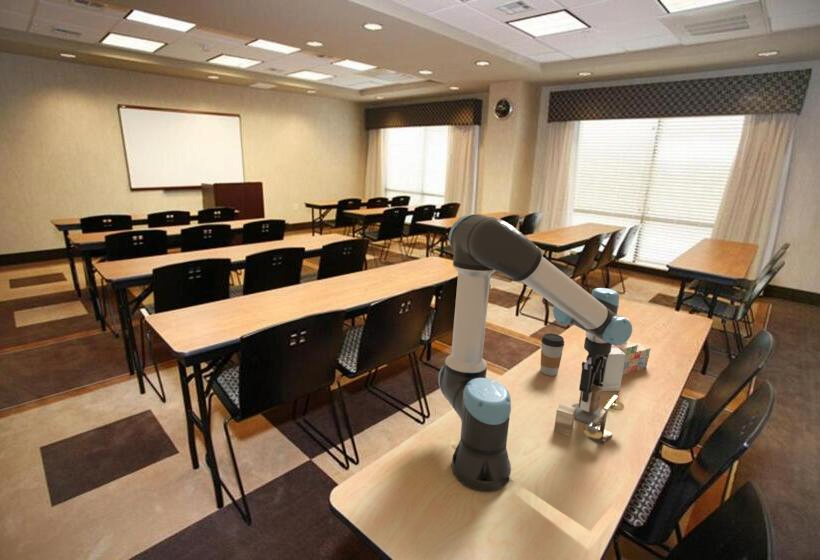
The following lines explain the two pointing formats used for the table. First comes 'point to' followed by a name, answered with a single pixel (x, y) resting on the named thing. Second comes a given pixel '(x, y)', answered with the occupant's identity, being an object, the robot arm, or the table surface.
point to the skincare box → (613, 370)
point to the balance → (602, 422)
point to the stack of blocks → (634, 356)
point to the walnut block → (593, 398)
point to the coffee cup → (551, 354)
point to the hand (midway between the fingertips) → (588, 406)
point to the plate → (585, 415)
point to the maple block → (564, 419)
